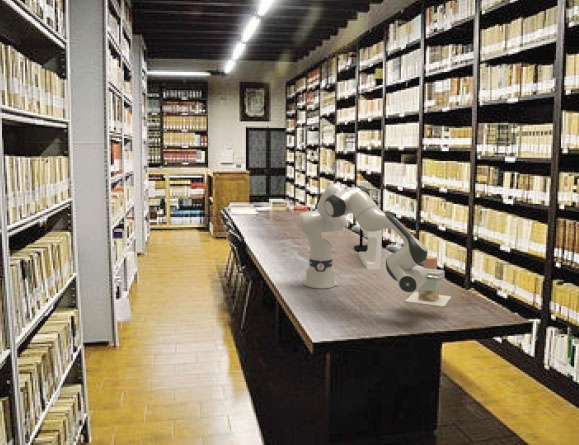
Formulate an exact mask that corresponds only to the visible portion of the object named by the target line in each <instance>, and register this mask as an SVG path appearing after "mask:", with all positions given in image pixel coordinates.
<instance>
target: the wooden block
mask: <svg viewBox="0 0 579 445" xmlns="http://www.w3.org/2000/svg"><path fill="white" fill-rule="evenodd" d="M418 292H419V296H418V300H424V301H432V302H436V301H437V299H438V298H439V295H440V288H439V289H438V290H437V291H436V292H435V291H427V290H419V289H418Z"/></svg>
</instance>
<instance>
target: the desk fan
mask: <svg viewBox="0 0 579 445" xmlns="http://www.w3.org/2000/svg"><path fill="white" fill-rule="evenodd" d="M372 200H373V201H374V202H375V203H376V205H377V206H378V208H379V209H380V210H381V207H380V204H379V203H378V201H377V200H376V199H372ZM363 234H364V232H363V231H362V229H361V228H360V227H359V244H356V245H354V246H353V248H354V250H355V251H356V252H366V251H367V249H368V244H363V242H364V240H363V238H364V237H363Z"/></svg>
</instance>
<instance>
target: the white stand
mask: <svg viewBox="0 0 579 445" xmlns="http://www.w3.org/2000/svg"><path fill="white" fill-rule="evenodd" d="M360 228H361V229H362V227H361V226H360V225H359V229H360ZM362 231H363V234H364V235H366V237H367V245H368V249H367V251H366V252H359V251H358V252H359V254H358V255H359V256H358V257H359V259H360V260H361V263H363V266H365V268H366V270H382V244H383V243H382V241H383V240H382V237H383V230H381V231H376V232H368V231H365V230H364V229H362Z"/></svg>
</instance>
